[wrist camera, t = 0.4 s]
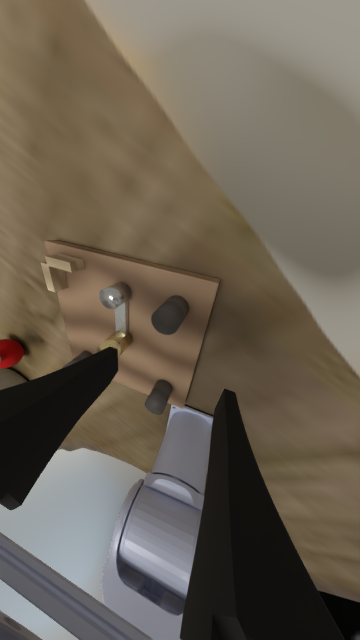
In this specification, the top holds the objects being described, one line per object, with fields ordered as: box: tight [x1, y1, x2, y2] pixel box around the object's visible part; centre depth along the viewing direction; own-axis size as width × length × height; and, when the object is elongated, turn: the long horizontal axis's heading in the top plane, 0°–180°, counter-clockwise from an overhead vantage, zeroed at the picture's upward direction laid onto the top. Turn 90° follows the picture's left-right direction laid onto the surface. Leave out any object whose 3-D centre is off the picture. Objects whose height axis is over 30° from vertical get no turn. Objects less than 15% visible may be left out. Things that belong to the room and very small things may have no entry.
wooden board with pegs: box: [41, 240, 220, 415], centre depth 21 cm, size 20×20×5 cm
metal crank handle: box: [97, 282, 132, 358], centre depth 19 cm, size 9×3×3 cm, turn 171°
